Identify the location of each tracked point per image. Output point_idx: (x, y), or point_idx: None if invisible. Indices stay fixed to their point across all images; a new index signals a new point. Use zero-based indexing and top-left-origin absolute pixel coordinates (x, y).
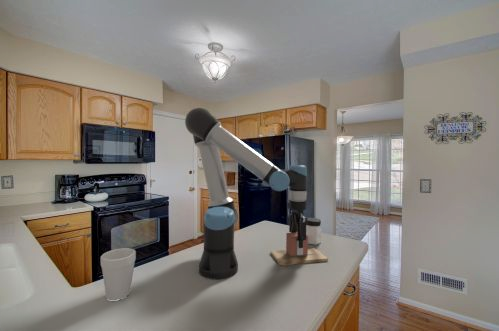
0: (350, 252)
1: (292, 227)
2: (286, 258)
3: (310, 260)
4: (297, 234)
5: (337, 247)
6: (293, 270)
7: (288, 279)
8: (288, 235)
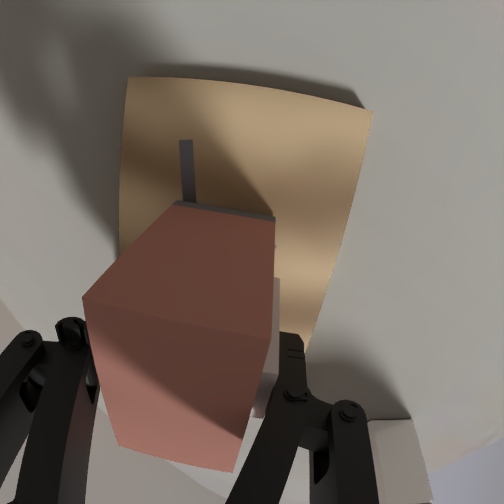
0: (205, 470)
1: (243, 475)
2: (177, 160)
3: None
4: (76, 386)
5: None
6: (62, 140)
7: (7, 77)
8: (180, 312)
